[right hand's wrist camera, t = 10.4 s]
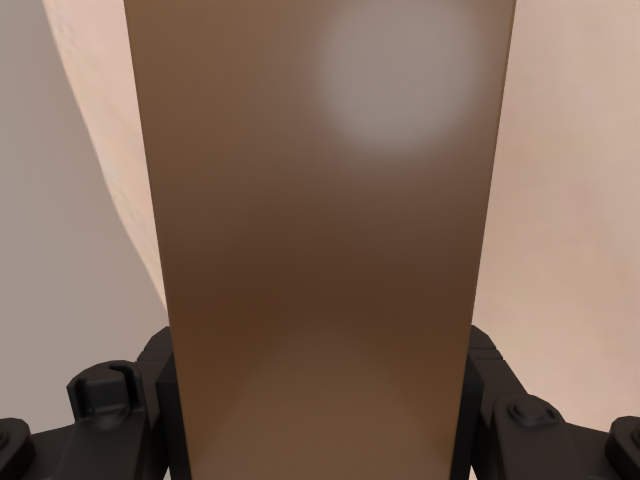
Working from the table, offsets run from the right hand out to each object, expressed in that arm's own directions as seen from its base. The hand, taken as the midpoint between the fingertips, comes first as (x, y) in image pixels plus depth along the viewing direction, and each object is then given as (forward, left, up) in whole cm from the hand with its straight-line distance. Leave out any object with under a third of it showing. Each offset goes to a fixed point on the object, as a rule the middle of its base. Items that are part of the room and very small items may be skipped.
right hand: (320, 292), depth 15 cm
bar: (+32, 0, -1) cm, 32 cm away
